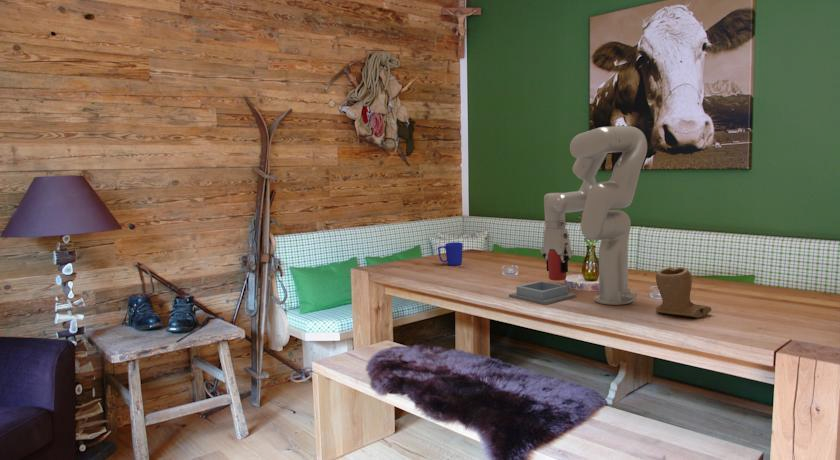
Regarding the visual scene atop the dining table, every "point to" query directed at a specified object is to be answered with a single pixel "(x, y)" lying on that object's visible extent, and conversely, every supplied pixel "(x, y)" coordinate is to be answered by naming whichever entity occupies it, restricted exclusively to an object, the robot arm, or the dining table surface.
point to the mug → (452, 253)
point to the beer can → (555, 266)
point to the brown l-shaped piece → (678, 293)
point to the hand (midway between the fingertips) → (557, 271)
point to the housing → (542, 292)
